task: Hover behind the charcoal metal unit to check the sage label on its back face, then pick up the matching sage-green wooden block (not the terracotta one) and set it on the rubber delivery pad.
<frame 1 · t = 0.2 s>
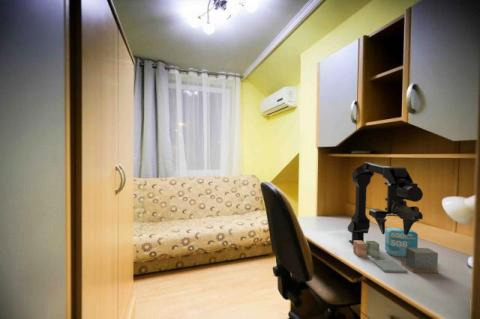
hand: (394, 234, 93), 14 cm above the table, fingers open, 9 cm apart
delivery pad: (388, 266, 95), on the table
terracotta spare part: (359, 254, 107), on the table
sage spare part: (372, 254, 107), on the table
mounted unit: (419, 268, 94), on the table
data package: (400, 255, 108), on the table
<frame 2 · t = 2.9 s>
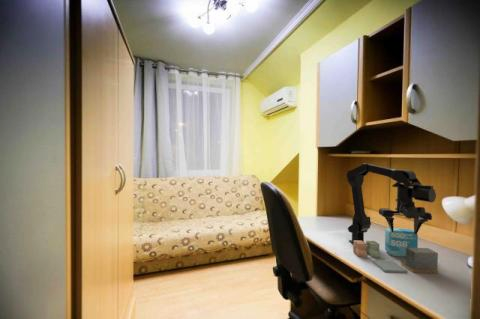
hand: (403, 232, 100), 13 cm above the table, fingers open, 9 cm apart
nothing on the table moved.
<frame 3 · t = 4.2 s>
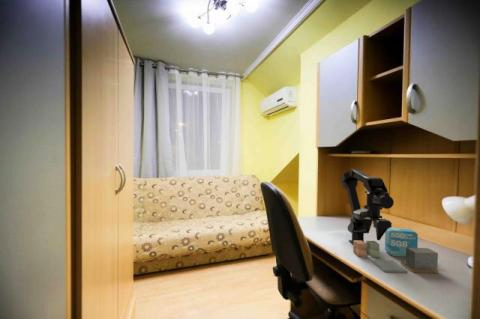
hand: (372, 236, 107), 9 cm above the table, fingers open, 9 cm apart
nothing on the table moved.
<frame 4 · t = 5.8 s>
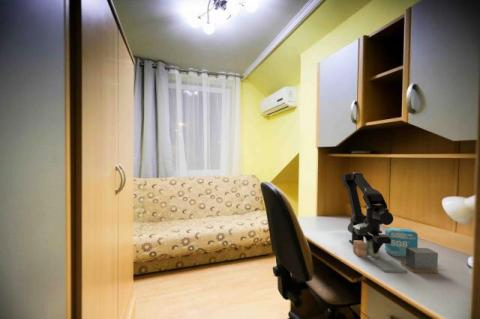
hand: (372, 251, 107), 2 cm above the table, fingers closed on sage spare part, 4 cm apart
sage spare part: (372, 254, 107), on the table, touching gripper
everything else where it was.
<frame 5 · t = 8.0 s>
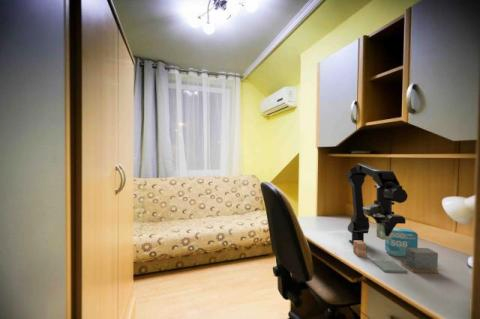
hand: (383, 234, 98), 12 cm above the table, fingers closed on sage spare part, 4 cm apart
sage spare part: (383, 238, 98), point 11 cm above the table, touching gripper
everything else where it was.
when the fingers open (3 cm above the table, at t = 10.3 s): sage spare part drops 1 cm, resting on delivery pad.
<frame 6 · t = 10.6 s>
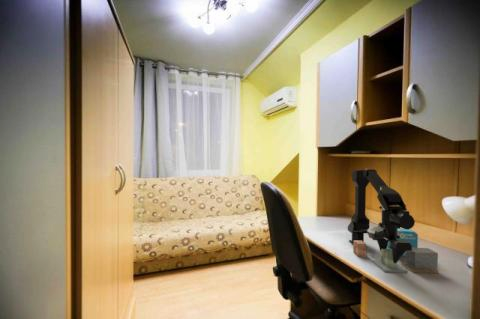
hand: (388, 258, 95), 3 cm above the table, fingers open, 8 cm apart
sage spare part: (388, 265, 95), point 1 cm above the table, touching delivery pad
everything else where it was.
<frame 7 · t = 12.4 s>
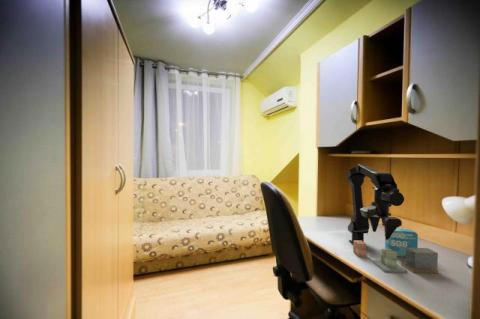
hand: (380, 235, 100), 11 cm above the table, fingers open, 9 cm apart
nothing on the table moved.
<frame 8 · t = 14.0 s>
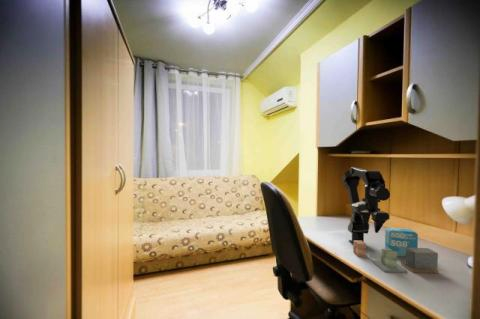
hand: (370, 229, 107), 12 cm above the table, fingers open, 9 cm apart
nothing on the table moved.
at the end: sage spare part 0.0 cm off-centre on the delivery pad, point 0.8 cm above the delivery pad's base; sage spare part tilted 0°; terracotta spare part moved 0.1 cm from its start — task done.
